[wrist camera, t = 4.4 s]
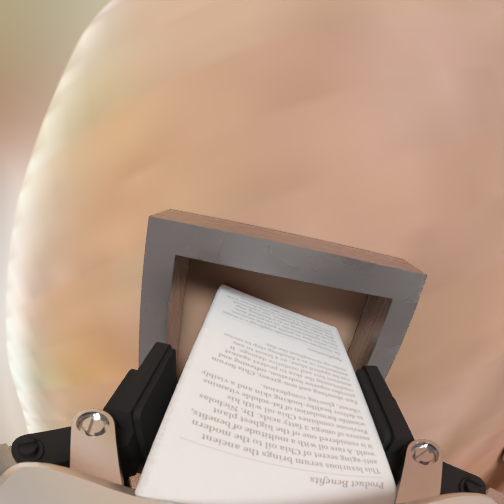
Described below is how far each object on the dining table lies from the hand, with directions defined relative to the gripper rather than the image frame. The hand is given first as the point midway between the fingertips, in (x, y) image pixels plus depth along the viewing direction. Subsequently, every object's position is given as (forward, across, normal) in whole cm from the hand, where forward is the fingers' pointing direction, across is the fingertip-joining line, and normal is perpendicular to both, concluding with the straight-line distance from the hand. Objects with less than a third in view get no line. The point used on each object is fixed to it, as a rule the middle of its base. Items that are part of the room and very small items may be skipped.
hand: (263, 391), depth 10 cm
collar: (+4, 0, 0) cm, 4 cm away
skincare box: (+4, 0, 0) cm, 4 cm away
